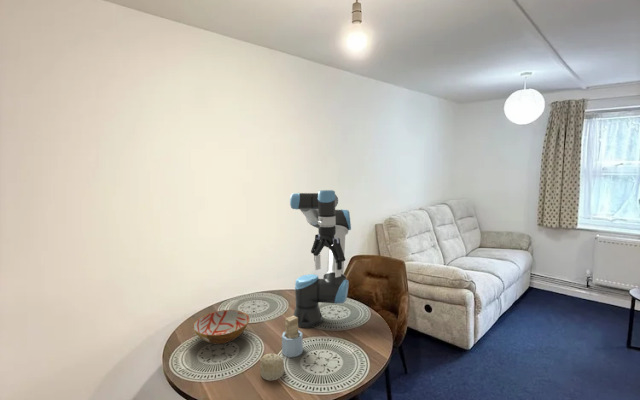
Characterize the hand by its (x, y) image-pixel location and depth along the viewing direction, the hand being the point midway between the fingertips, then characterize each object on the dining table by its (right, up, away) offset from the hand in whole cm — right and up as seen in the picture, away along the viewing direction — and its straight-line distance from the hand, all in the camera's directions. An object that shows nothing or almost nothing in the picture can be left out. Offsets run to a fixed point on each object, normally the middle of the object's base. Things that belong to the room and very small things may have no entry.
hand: (327, 273), depth 145 cm
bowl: (-49, -32, +7) cm, 59 cm away
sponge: (-22, -34, -19) cm, 45 cm away
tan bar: (-15, -32, -5) cm, 36 cm away
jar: (-15, -33, -5) cm, 36 cm away
